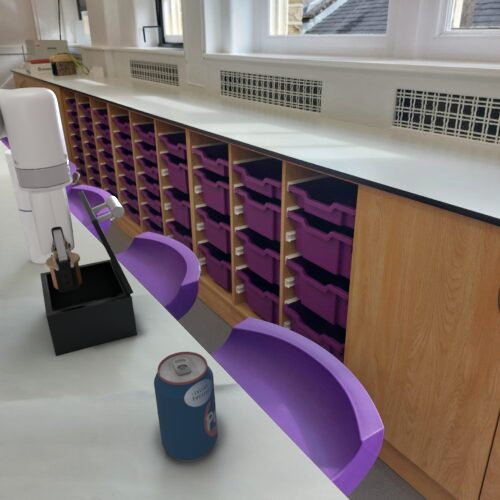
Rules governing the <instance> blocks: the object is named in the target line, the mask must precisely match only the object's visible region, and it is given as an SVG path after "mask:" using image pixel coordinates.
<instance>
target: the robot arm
mask: <svg viewBox="0 0 500 500" xmlns="http://www.w3.org/2000/svg"><path fill="white" fill-rule="evenodd" d="M59 107H60V106H59V102H58V99H57V96H56V94H55V93H54V91H53V90H51V89H49V88H47V87H39V86H38V87H35V86H34V87H20V88H13V89H8V88H0V140H1V139H4V138H7V140H8V145H9V150H11V154H12V158H13V162H14V166H15V170H16V175H17V179H18V183H19V187H20V189H21V190H23V191H27V192H28V193H29V200H30V205H31V210H32V214H33V219H34V223H35V227H36V231H37V236H38V240H39V244H40V248H41V253H42V254H43V255H46V254H48V253H50V252H51V251H52V255H51V256H53V260H54V265H55V269H54V272H55V277H56V281H57V286H58V290H59V292H60V293H62V292H67V291H71V290H76V289H79V288H80V285H79V281H78V276H77V271H76V266H75V265H74V263H73V259H72V254H71V252H72V251H73V250H74V249H75V238H74V229H73V222H72V215H71V209H70V204H69V200H68V199H69V197H68V194H67V193H68V192H67V188H66V187H68V186H69V185H71V184H72V183H73V181H74V180H73V176H72V170H71V165H70V160H69V154H68V148H67V144H66V139H65V133H64V128H63V123H62V119H61V118H62V117H61V113H60V108H59ZM54 247H55V249H54ZM67 253H68V256H67ZM57 254H58V257H59V258H57V257H56V255H57ZM58 265H59V266H58Z"/></svg>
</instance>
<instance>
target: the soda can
mask: <svg viewBox="0 0 500 500" xmlns="http://www.w3.org/2000/svg"><path fill="white" fill-rule="evenodd" d="M153 388H154V395H155V403H156V410H157V417H158V418H157V419H158V424H159V433H160V439H161V440H160V441H161V445H162V447H163V449H164V450H165V451H166V453H167V454H169V455H170V456H171V457H173V459H175V460H178V461H181V462H187V463H188V462H195V461H198V460H201V459H203V458H204V457H206V455H208V454H209V453H210V451H211V450H212V449H213V447H214V446H215V444H216V443H217V439H218V433H219V432H218V421H217V406H216V405H217V404H216V394H215V381H214V372H213V370H212V369H211V367H210V366H209V364H208V361H207V359H206V357H204V356H203V355H201V354H200V353H197V352H194V351H179V352H174V353H171V354H169V355H167V356H166V357H164V358H163V359H162V360H161V361H160V362H159V363H158V365H157V370H156V373H155V376H154V379H153Z"/></svg>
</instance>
